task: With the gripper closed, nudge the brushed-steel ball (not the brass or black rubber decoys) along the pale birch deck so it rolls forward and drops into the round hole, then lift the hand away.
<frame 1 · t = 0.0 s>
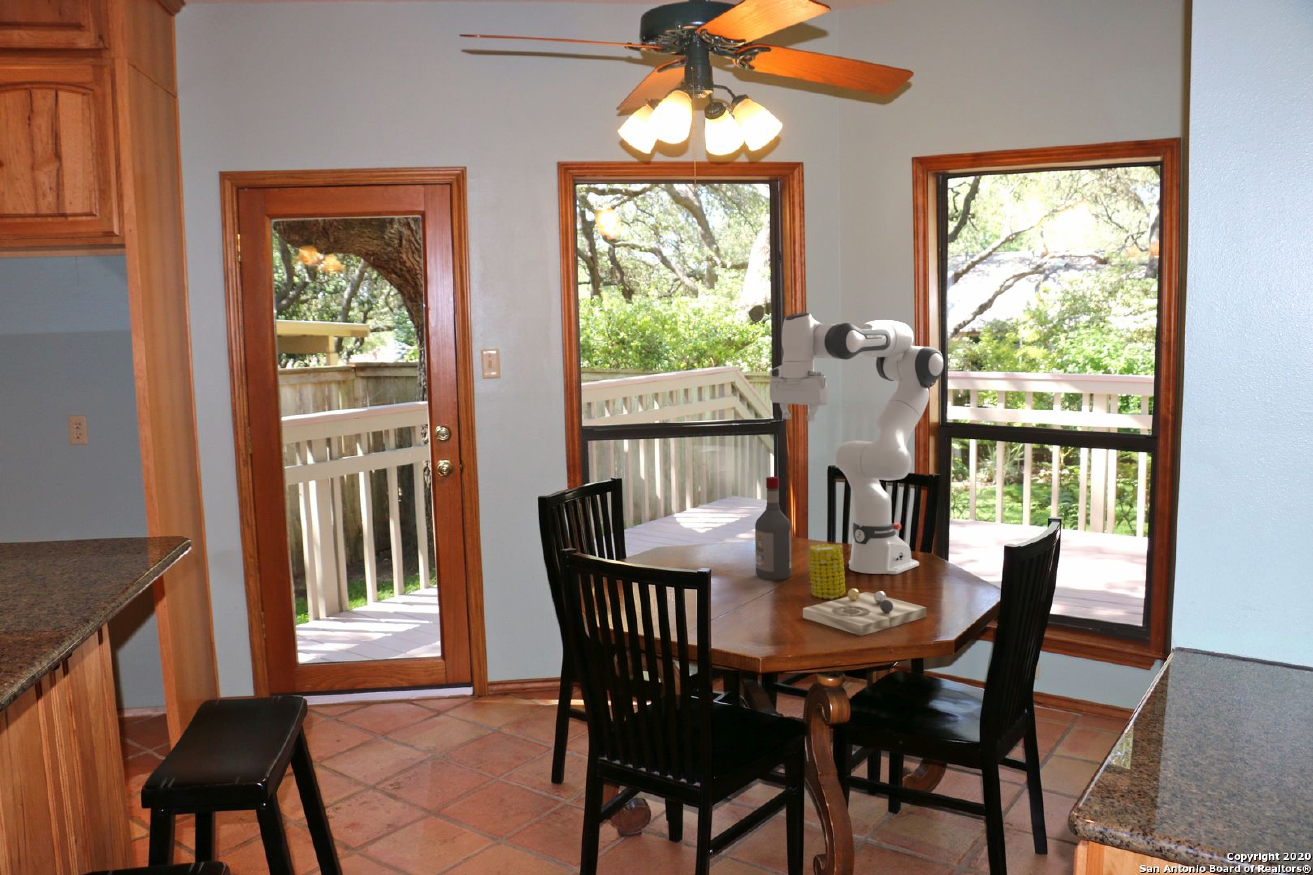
hand: (798, 420, 286), 48 cm above the table, fingers open, 8 cm apart
food: (827, 596, 281), on the table
deck: (864, 617, 259), on the table
rubber decoy: (886, 606, 254), point 4 cm above the table, touching deck
liquor: (773, 577, 303), on the table
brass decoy: (853, 594, 266), point 4 cm above the table, touching deck
steel ball: (880, 597, 262), point 4 cm above the table, touching deck
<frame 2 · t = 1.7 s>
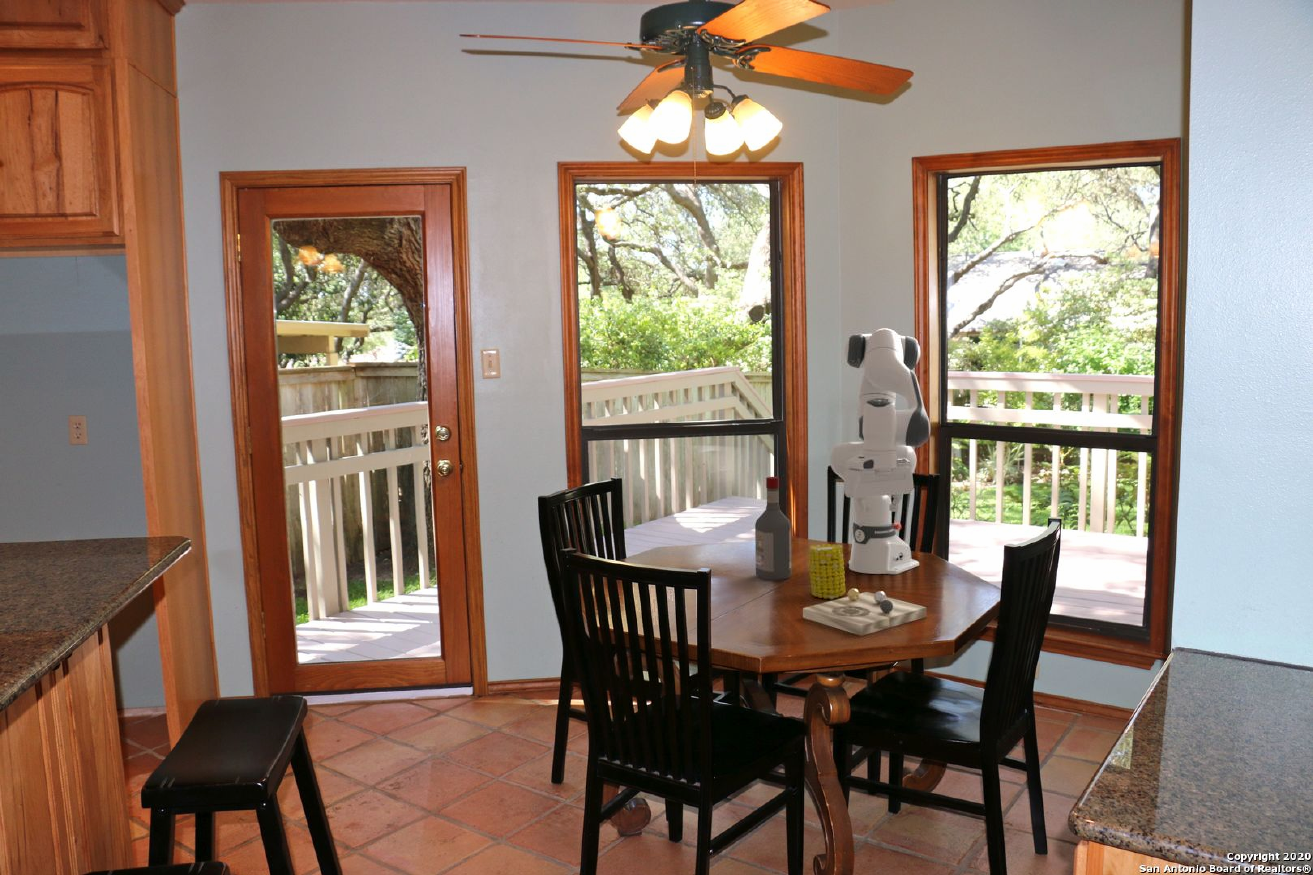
hand: (879, 512, 268), 25 cm above the table, fingers open, 8 cm apart
nothing on the table moved.
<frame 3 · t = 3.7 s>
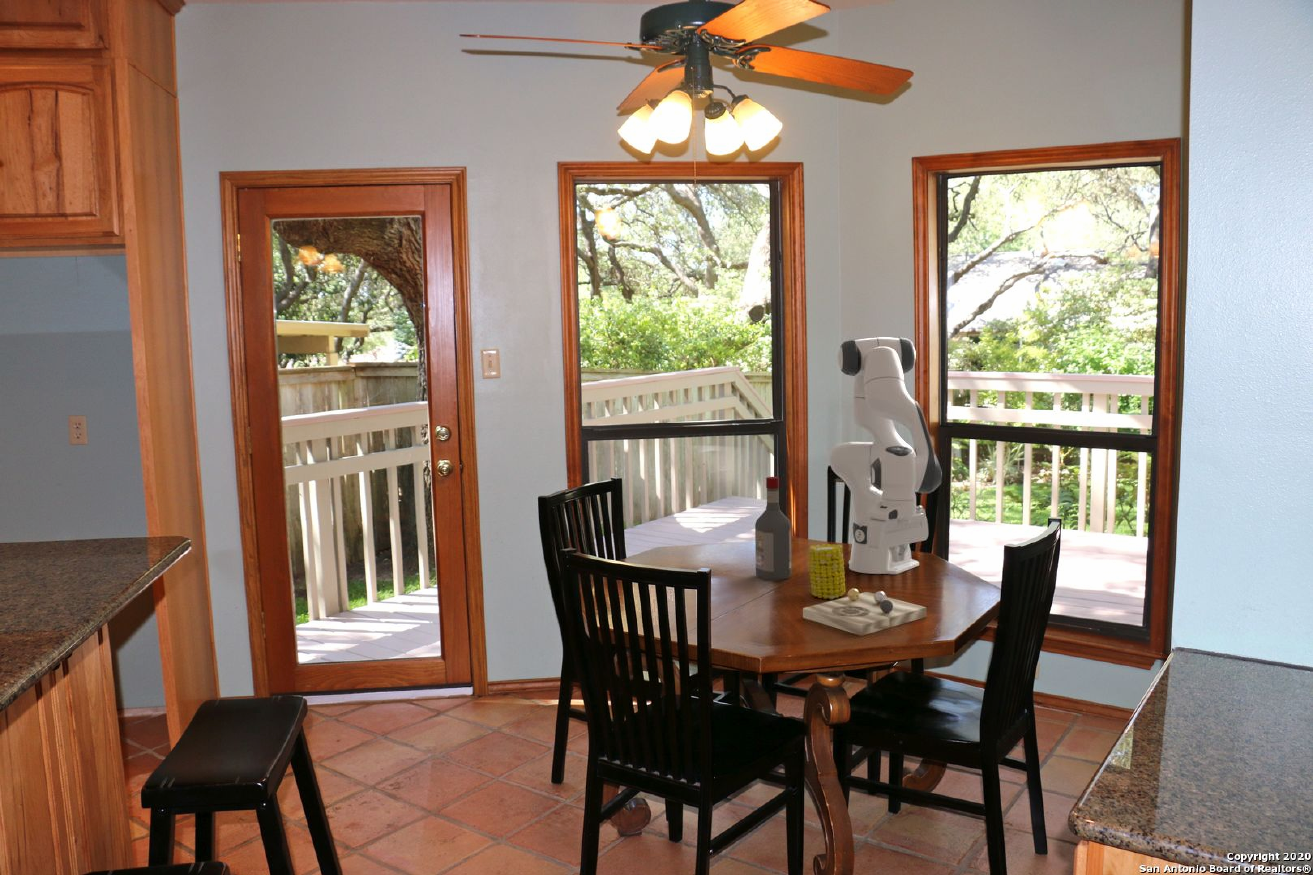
hand: (898, 561, 265), 13 cm above the table, fingers closed
nothing on the table moved.
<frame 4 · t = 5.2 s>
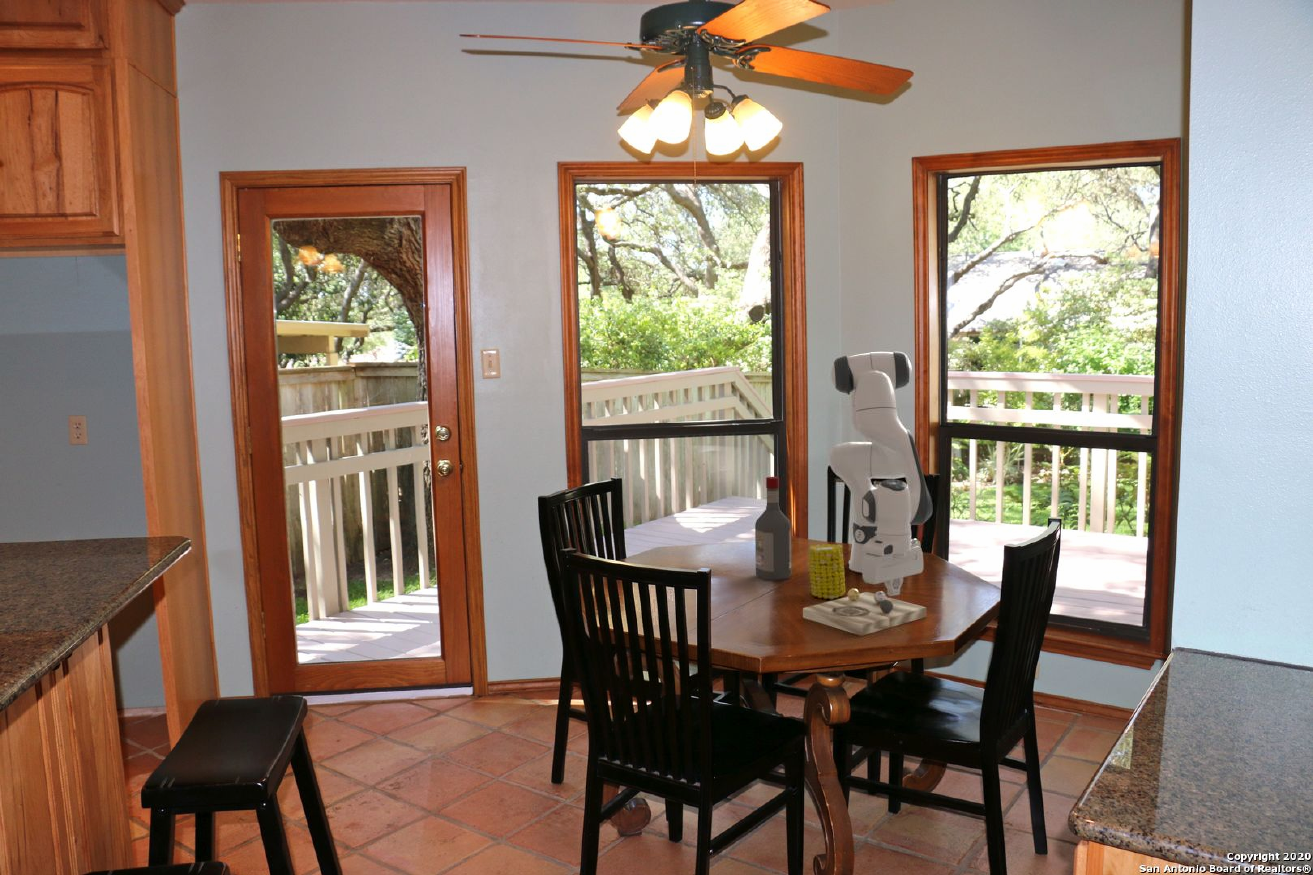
hand: (893, 594, 265), 4 cm above the table, fingers closed
nothing on the table moved.
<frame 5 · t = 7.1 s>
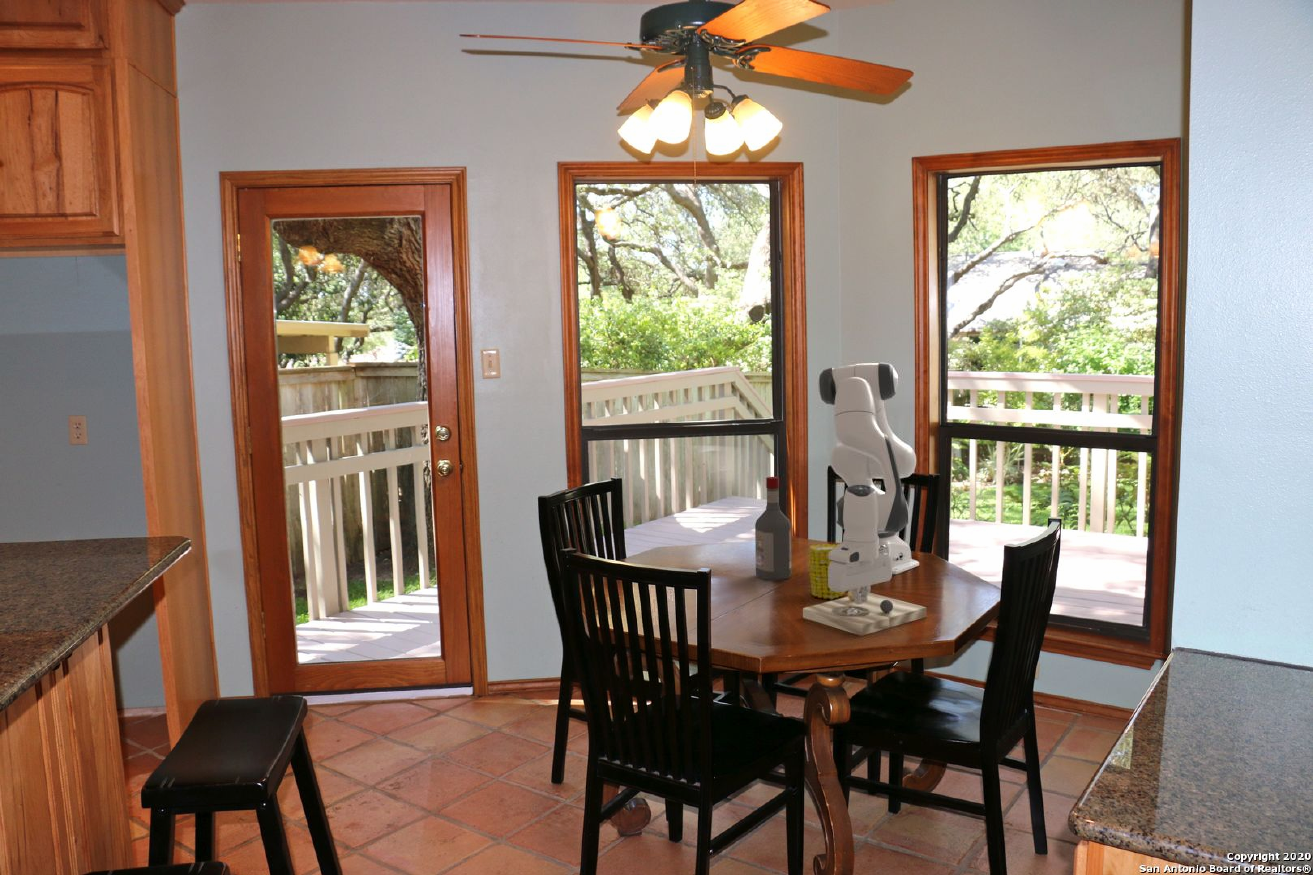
hand: (860, 603, 258), 4 cm above the table, fingers closed
steel ball: (852, 614, 256), point 2 cm above the table, tilted 47°
everything else where it was.
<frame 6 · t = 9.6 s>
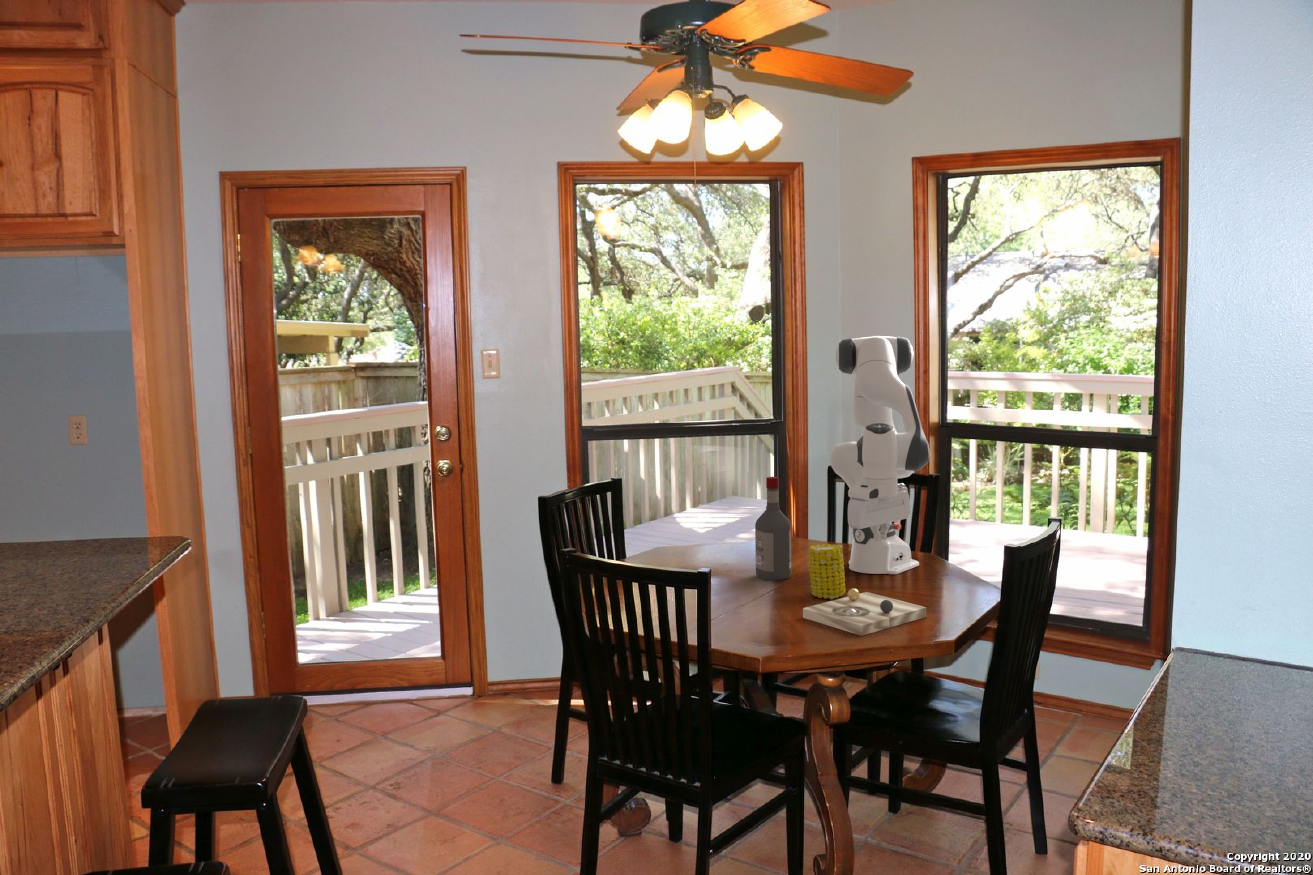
hand: (880, 540, 261), 19 cm above the table, fingers closed
steel ball: (851, 614, 256), point 2 cm above the table, tilted 65°
everything else where it was.
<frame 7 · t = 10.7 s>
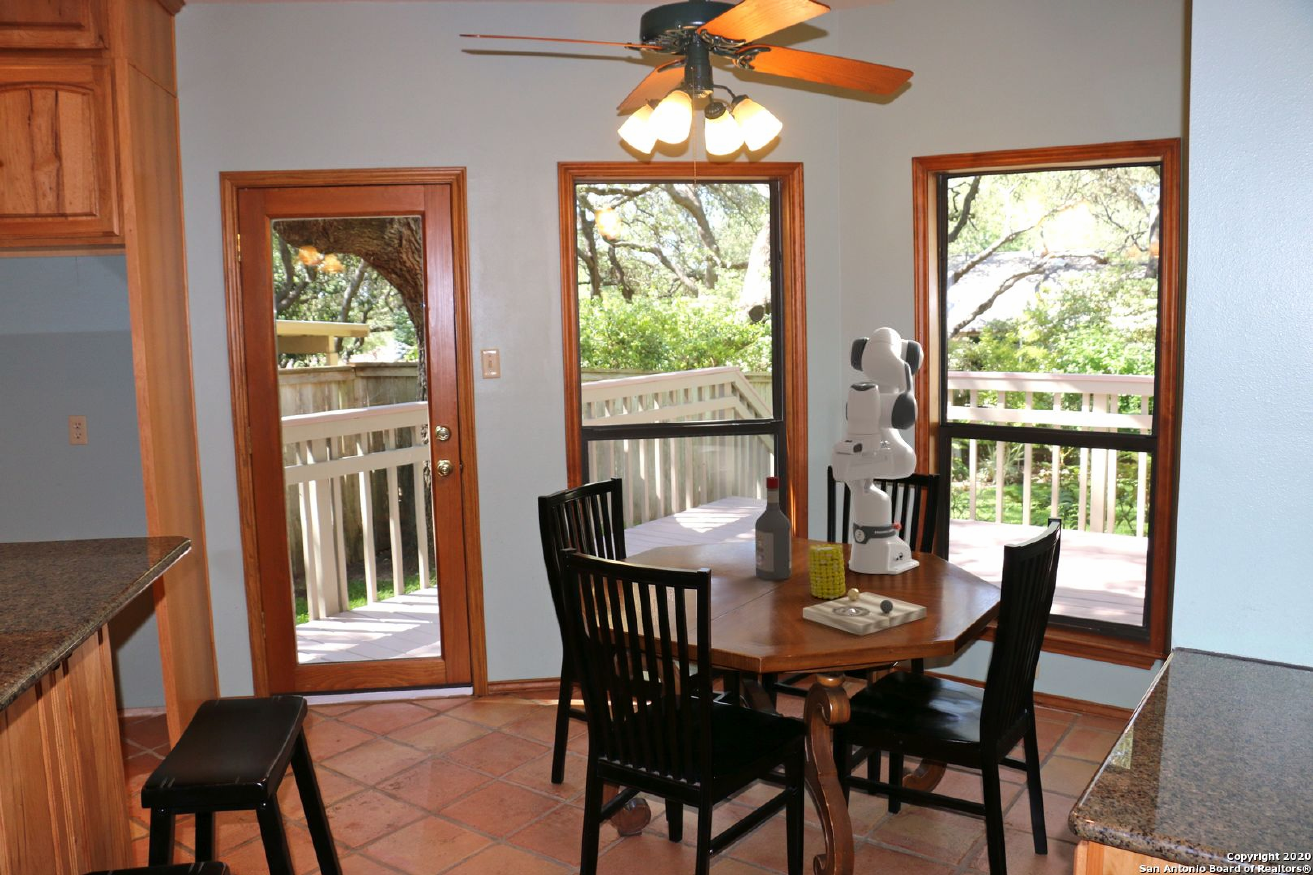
hand: (863, 494, 272), 29 cm above the table, fingers closed
steel ball: (850, 614, 256), point 2 cm above the table, tilted 73°
everything else where it was.
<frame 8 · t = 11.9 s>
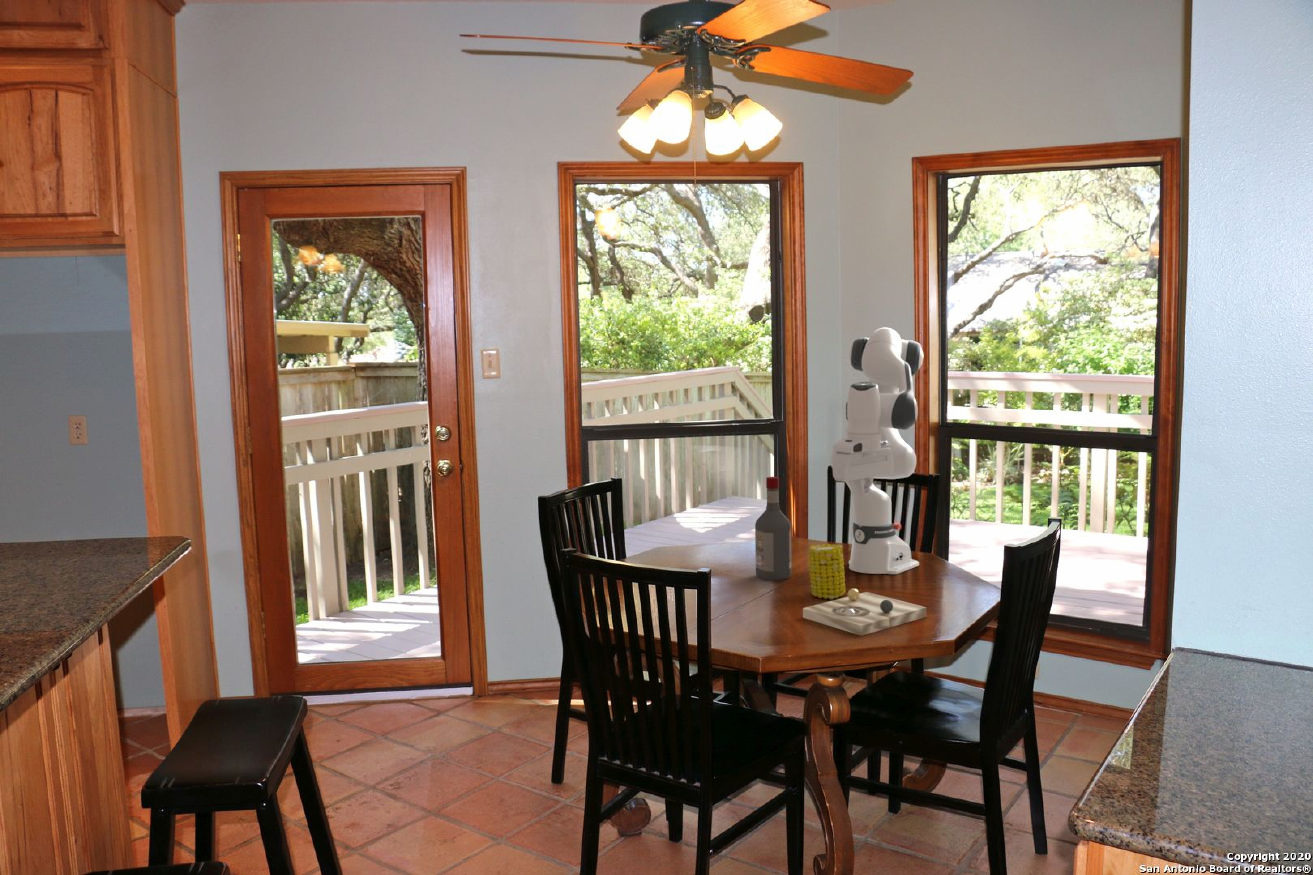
hand: (863, 494, 272), 29 cm above the table, fingers closed
steel ball: (849, 615, 256), point 2 cm above the table, tilted 81°
everything else where it was.
at the end: steel ball 0.4 cm from the target spot in the deck, point 1.6 cm above the deck's base; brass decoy moved 0.0 cm from its start; rubber decoy moved 0.0 cm from its start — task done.
